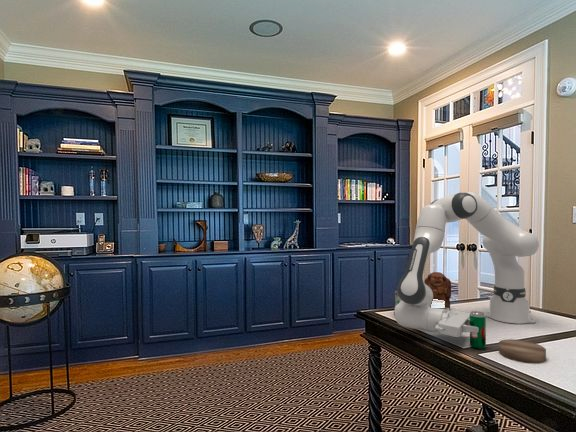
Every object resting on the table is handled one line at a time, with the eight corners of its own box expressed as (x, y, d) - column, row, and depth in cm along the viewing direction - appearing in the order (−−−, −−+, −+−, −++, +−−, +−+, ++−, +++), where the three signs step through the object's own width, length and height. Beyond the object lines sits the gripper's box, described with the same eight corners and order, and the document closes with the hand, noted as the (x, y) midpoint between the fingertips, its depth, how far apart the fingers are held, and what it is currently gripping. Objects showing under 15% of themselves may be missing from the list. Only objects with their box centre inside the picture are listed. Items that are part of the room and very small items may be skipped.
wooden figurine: (425, 310, 179) (425, 273, 178) (424, 307, 185) (423, 271, 185) (452, 311, 176) (452, 273, 176) (449, 308, 182) (449, 271, 182)
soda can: (466, 344, 132) (466, 310, 132) (480, 344, 132) (480, 310, 132) (475, 349, 127) (474, 314, 127) (489, 349, 127) (489, 314, 127)
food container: (411, 319, 164) (411, 296, 164) (397, 318, 165) (397, 296, 165) (408, 312, 176) (408, 291, 176) (395, 311, 177) (395, 290, 177)
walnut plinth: (501, 345, 131) (501, 336, 131) (546, 353, 123) (546, 344, 123) (496, 357, 120) (496, 347, 120) (545, 366, 113) (545, 356, 112)
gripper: (430, 318, 129) (474, 325, 120) (445, 306, 145) (485, 311, 137) (430, 336, 129) (474, 345, 120) (445, 322, 145) (485, 329, 137)
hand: (480, 327), depth 129 cm, fingers closed on soda can, 5 cm apart
